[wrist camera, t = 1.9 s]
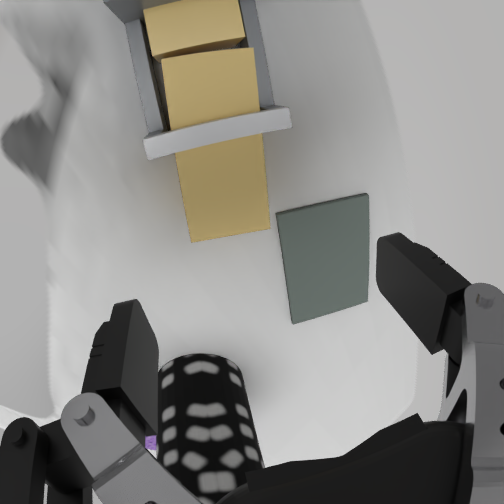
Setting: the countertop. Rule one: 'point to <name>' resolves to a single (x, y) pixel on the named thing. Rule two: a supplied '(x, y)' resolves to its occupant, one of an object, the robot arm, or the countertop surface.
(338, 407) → the countertop surface
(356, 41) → the countertop surface
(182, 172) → the wooden block
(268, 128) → the dispenser
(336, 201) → the mat
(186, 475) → the white-spotted black cylinder
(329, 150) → the countertop surface
